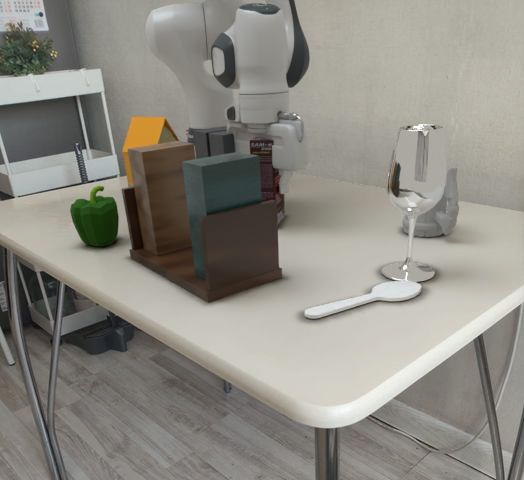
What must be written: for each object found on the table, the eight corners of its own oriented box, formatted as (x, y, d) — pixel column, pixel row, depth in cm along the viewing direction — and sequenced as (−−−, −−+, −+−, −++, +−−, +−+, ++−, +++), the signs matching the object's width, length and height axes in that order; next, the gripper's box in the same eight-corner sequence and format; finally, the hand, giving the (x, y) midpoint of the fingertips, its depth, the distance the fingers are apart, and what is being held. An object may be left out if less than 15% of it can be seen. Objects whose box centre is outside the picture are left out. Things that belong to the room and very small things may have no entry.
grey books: (201, 209, 116) (192, 130, 108) (235, 201, 120) (229, 125, 112) (229, 219, 108) (222, 135, 100) (264, 210, 112) (260, 129, 105)
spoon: (295, 308, 69) (295, 305, 69) (405, 279, 76) (405, 276, 75) (316, 324, 65) (316, 321, 65) (431, 292, 72) (431, 288, 71)
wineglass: (401, 287, 74) (415, 133, 64) (370, 269, 80) (378, 127, 70) (446, 276, 76) (466, 127, 67) (412, 260, 83) (426, 121, 73)
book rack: (130, 257, 90) (111, 149, 82) (196, 240, 97) (184, 138, 88) (208, 302, 73) (193, 170, 64) (282, 277, 79) (278, 154, 71)
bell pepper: (85, 253, 93) (72, 196, 88) (73, 242, 100) (60, 188, 95) (131, 243, 97) (121, 188, 92) (116, 233, 103) (106, 180, 98)
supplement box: (277, 228, 101) (274, 139, 93) (252, 228, 102) (247, 140, 94) (286, 216, 108) (283, 132, 100) (263, 215, 109) (258, 132, 101)
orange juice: (162, 217, 112) (147, 113, 102) (193, 222, 107) (181, 114, 97) (134, 227, 106) (115, 118, 96) (166, 233, 102) (150, 120, 92)
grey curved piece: (429, 222, 99) (436, 155, 93) (471, 240, 89) (482, 166, 84) (393, 228, 97) (398, 160, 91) (432, 247, 87) (441, 172, 81)
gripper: (317, 111, 89) (317, 195, 96) (246, 106, 104) (250, 179, 110) (287, 115, 86) (290, 201, 93) (219, 110, 100) (225, 185, 107)
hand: (268, 189), depth 102 cm, fingers closed on supplement box, 7 cm apart
